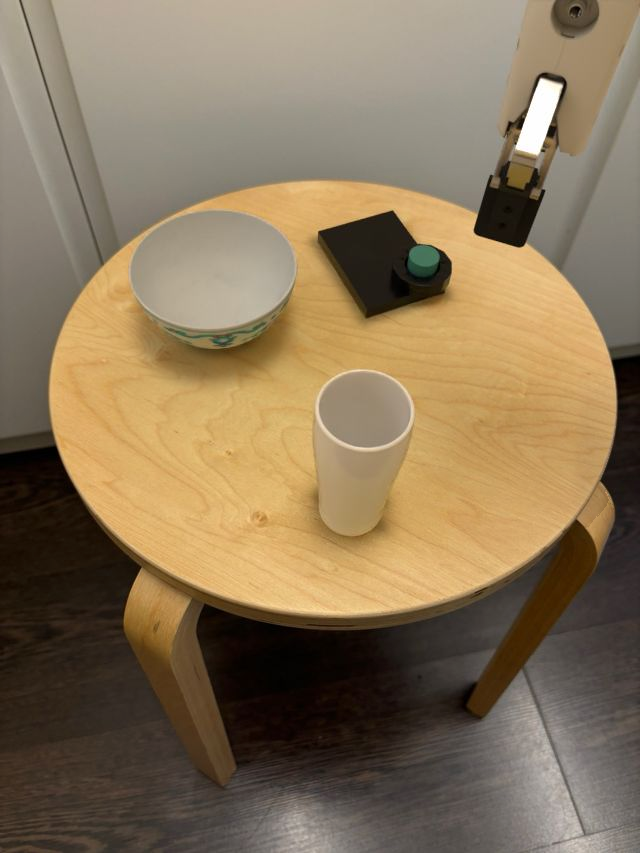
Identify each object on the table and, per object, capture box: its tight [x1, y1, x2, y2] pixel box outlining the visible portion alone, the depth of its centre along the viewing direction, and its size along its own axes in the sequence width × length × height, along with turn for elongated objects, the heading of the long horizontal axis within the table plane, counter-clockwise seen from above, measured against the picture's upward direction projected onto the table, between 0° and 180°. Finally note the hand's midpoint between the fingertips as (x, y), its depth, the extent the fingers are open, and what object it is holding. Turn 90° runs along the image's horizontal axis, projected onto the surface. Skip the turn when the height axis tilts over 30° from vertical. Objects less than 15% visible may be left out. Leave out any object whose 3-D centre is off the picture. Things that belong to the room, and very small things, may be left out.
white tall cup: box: [312, 368, 416, 537], centre depth 52 cm, size 7×7×15 cm
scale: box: [317, 210, 453, 319], centre depth 73 cm, size 10×13×3 cm
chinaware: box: [127, 208, 298, 350], centre depth 66 cm, size 15×15×8 cm
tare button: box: [407, 244, 439, 277], centre depth 70 cm, size 3×3×2 cm
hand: (516, 190), depth 45 cm, fingers open, 9 cm apart
